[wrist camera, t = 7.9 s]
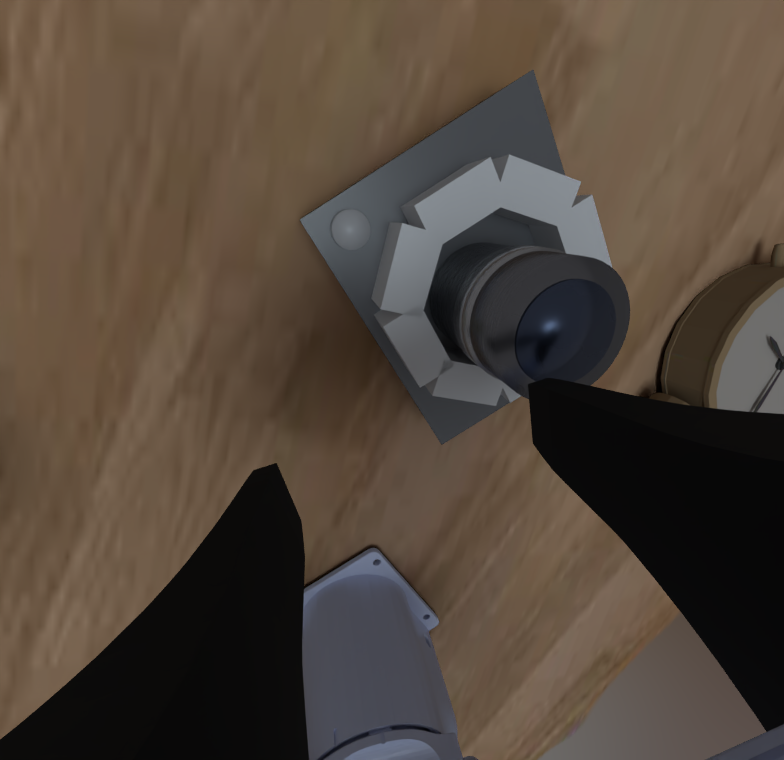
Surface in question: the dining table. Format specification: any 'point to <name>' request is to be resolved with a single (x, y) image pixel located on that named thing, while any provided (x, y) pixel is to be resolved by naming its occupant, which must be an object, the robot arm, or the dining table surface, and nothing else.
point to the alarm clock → (731, 343)
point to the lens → (531, 312)
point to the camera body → (451, 239)
